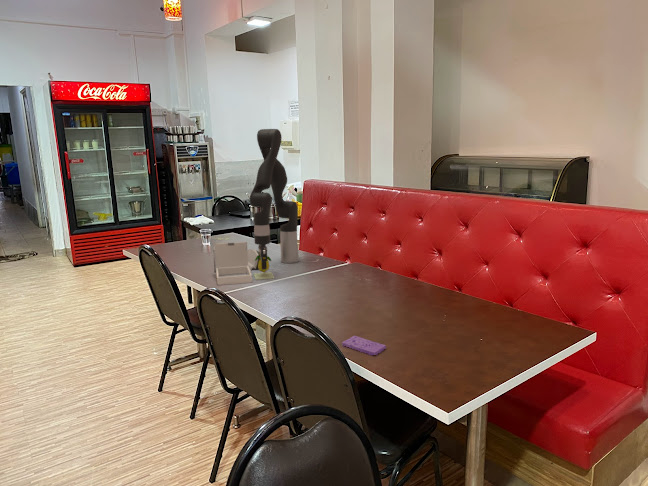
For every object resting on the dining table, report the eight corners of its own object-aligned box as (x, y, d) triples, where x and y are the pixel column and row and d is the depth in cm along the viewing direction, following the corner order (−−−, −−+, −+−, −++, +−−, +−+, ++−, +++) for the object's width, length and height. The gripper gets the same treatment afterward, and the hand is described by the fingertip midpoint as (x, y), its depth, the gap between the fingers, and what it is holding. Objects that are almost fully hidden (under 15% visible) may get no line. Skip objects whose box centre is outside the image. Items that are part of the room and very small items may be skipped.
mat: (271, 272, 246) (271, 271, 246) (274, 278, 236) (274, 277, 236) (253, 274, 244) (253, 273, 244) (255, 280, 234) (255, 279, 234)
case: (248, 271, 250) (246, 241, 246) (252, 282, 230) (250, 250, 227) (214, 274, 246) (212, 243, 243) (215, 285, 226) (213, 252, 223)
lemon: (255, 274, 237) (254, 254, 235) (258, 271, 243) (257, 251, 241) (268, 274, 236) (268, 254, 234) (271, 271, 242) (271, 251, 240)
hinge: (240, 263, 266) (246, 246, 265) (248, 265, 268) (254, 248, 268) (251, 270, 251) (256, 252, 251) (259, 272, 254) (264, 254, 253)
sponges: (354, 340, 163) (354, 335, 162) (386, 350, 155) (386, 344, 155) (341, 347, 157) (341, 342, 157) (374, 357, 150) (374, 352, 149)
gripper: (271, 236, 230) (273, 270, 233) (267, 230, 244) (269, 263, 247) (255, 236, 228) (257, 272, 232) (252, 231, 242) (254, 264, 245)
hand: (263, 267), depth 239 cm, fingers closed on lemon, 5 cm apart
